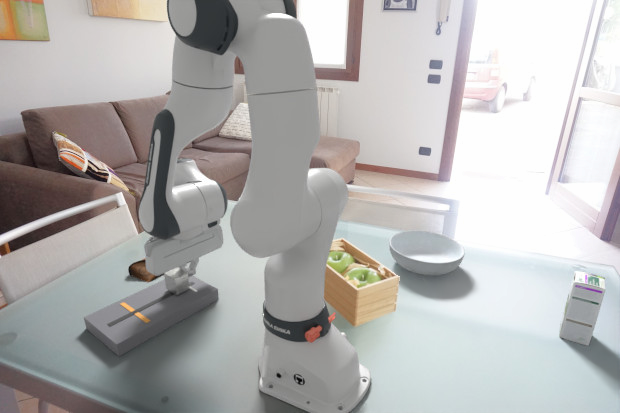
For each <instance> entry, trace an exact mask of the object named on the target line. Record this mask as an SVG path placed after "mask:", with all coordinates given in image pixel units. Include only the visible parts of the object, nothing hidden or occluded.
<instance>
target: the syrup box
mask: <svg viewBox="0 0 620 413" xmlns="http://www.w3.org/2000/svg"><path fill="white" fill-rule="evenodd" d="M573 273H574V274H573V277H572V281H571V283H570V288H569V293H568V295H567V300H566V302H565V305H564V306H565V307H564V310H563V312H562V313H563V314H562V318H561V321H560V324H559V325H560V327H559V337H560V338H561V339H564V340H567V341H569V342H570V341H571V342H573V343H577V344H580V345H583V346H586V347H589V345H590V343H591V339H592V336H593V334H594V330H595V328H596V324H597V321H598V318H599V313H600V310H601V306H602V303H603V301H604V296H605V294H606V278H605V277H604V276H600V275H597V274H594V273H590V272H586V271H585V272H584V271H578V270H575V271H574V272H573Z"/></svg>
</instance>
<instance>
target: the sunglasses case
mask: <svg viewBox="0 0 620 413" xmlns="http://www.w3.org/2000/svg"><path fill="white" fill-rule="evenodd" d="M127 270H128V275H129V276H132V277H134V278H136V279H138V280H141V281H142V282H147V283H151V282H152V281H154V280H155V279H158V278H159V277H161V276H164V273H163V274H161V275H159V276H155V275H153V274H151V273H150V272H148V271H147V269H146V258H145V257H144V258H142V259H140V260H138V261H135V262H132V263H130V265H129V266H128V269H127Z"/></svg>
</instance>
